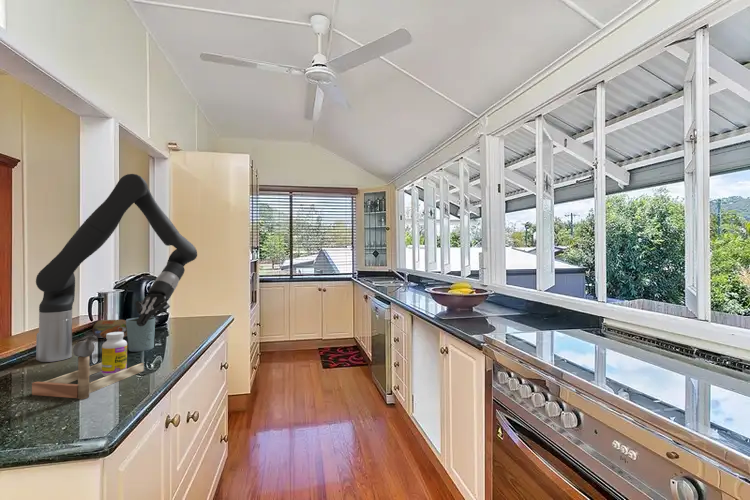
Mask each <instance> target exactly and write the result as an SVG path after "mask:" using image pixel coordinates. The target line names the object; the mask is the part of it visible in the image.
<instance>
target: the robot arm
mask: <svg viewBox="0 0 750 500" xmlns="http://www.w3.org/2000/svg"><path fill="white" fill-rule="evenodd" d="M133 204H135V206H136V207H137V208H138V209H139V210H140V211H141V212H142V215H144V217H145V218H146V220H147V222H148V223H149V225H150V226H151V228H152V230H153V231H154V233H155V234H156V235H157V237H158V238H159V239H160V241H161V242H162V243H163V244H164V245H165V246H167V247H168V246H172V247H174V248H175V249H174V250H173V251H172V252H171V254H170V255H169V256H168V259H167V262H166V265H165V266H164V268H163V270H162V271H161V272H160V274H159V275H158V276H157V277H156V279H155V280H154V282H153V283H152V285H151V286H150V288H148V291H147V295H146V296H145V297H144V298H143V300H141V301H139V300H137V301H135V307H136V312H137V314H138V315H139V318H138V317H137V318H138V320H137V322H136V323H137V325H138V326H144V325H145V324H146V323H147V321H148V320H149V318H151V317H155V318H156V317H157V316H159V315H161V314H162V313H164V312H166V311H167V310H168V309H170V307H171V305H170V304H169V303H168V301H169V300H170V298H171V297H172V295H173V293H174V292H175V290H176V288H177V287H178V285H179V282H180V281H181V279H182V277H183V276H184V273H185V266H186V265H187V264H189V263H191V262H194V261H195V260H196V259H197V257H198V251H197V249H196V247H195V245H194V244H193V243H192V242H190V241H189V240H188V239H187V238H186V237H185V236H183V235H182V234H181V233H180V231H178V229H177V227H176V226H175V224H173V221H171V220H170V218H169V217H168V216H167V214H166V213H165V212H164V211H163V210H162V209H161V207H160V206H159V204H158V203H157V202H156V200H155V198H154V197H153V194H152V192H151V190H150V189H149V185H148V183H147V181H146V180H145V179H144V177H142V176H140V175H139V174H135V173H127V174H124V175H123V176H121V178H119V180H118V182H117V183H116V185H115V186H114V187H113V189H112V191H111V192H110V194H109V195H108V197H106V199H105V200H104V201H103V202H102V203H101V204H100V205H99V206H98V207H97V208H96V209H95V210H94V211H92V213H91V214H90V215H89V216H88V217H87V218H86V219H85V221H83V223H82V224H81V225H80V227H79V228H78V229H77V230H76V232H75V233H74V234H73V235H72V236H71V237H70V239H69V240H68V241H67V242H66V244H65V245H64V246H63V248H62V249H61V251H59V252H58V254H57V255H55V257H54V258H53V259H51V261H49V263H47V264H46V265H45V266H44V267H43V268H42V269H40V271H39V272H38V273H37V275H36V276H35V277H36V278H35V284H36V287H37V289H39V290H40V291H41V292H43V297H42V300H41V302H40V304H39V306H38V311H39V312H38V332H37V333H36V337H35V338H36V339H35V340H36V343H35V344H36V345H35V347H36V349H35V350H36V351H35V353H36V354H35V355H36V356H35V358H36V361H38V362H40V363H49V362H58V361H64V360H68V359H69V358H72V356H73V354H72V353H73V306H74V305H73V304H74V303H75V294H76V293H75V292H76V276H75V272H76V270H77V269H78V268H79V266H80V265H81V264H82V263H83V262H84V261H85V260H87V259H88V258H89V257H91V255H93V254H94V253H95V252H96V251H98V250H99V249H100V248H101V247H102V246H103V245H104V244H105V243H106V242H107V241H108V239H109V238H110V237H111V236H112V235H113V233H114V232H115V230H116V229H117V227H118V226H119V224H120V222H121V221H122V218H123V217H124V214H125V213H126V212H127V211H128V209H129V208H130V207H131V206H132V205H133Z"/></svg>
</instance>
